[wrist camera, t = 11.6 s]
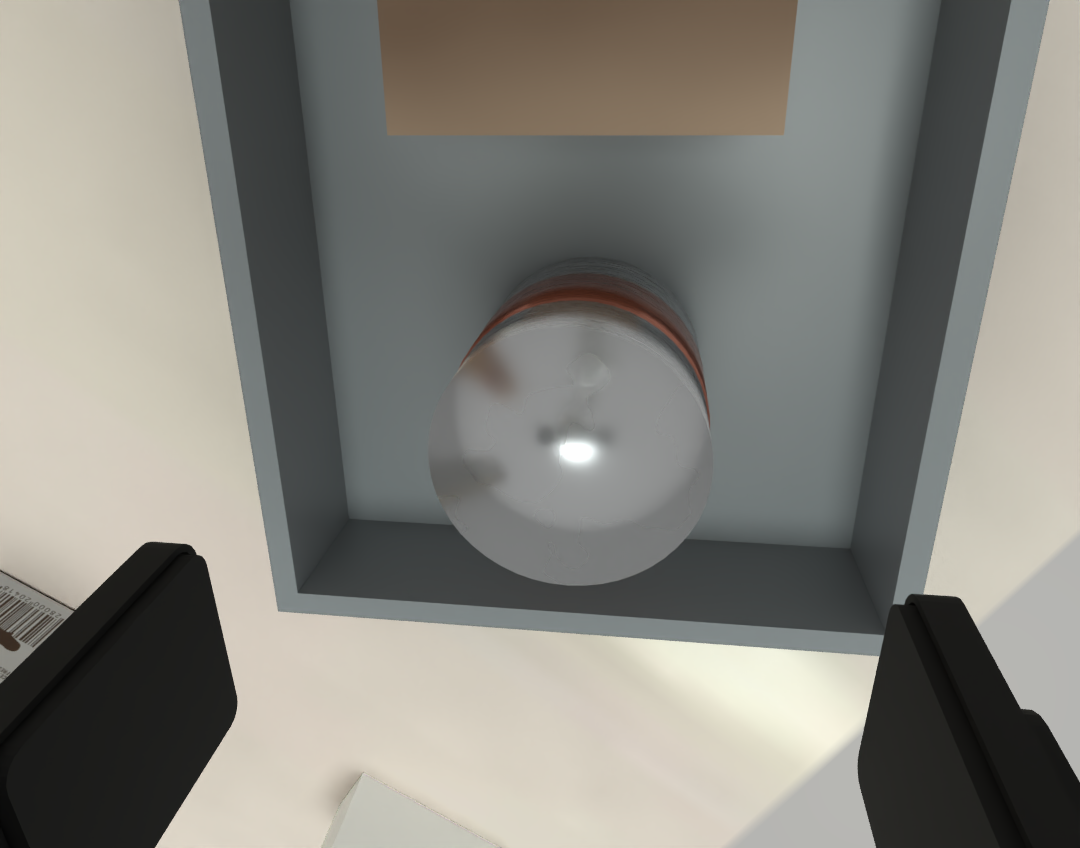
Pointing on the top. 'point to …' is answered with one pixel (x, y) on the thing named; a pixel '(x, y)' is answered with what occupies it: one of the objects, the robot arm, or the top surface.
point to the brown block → (586, 66)
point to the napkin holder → (393, 822)
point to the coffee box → (24, 622)
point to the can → (577, 427)
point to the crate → (652, 245)
